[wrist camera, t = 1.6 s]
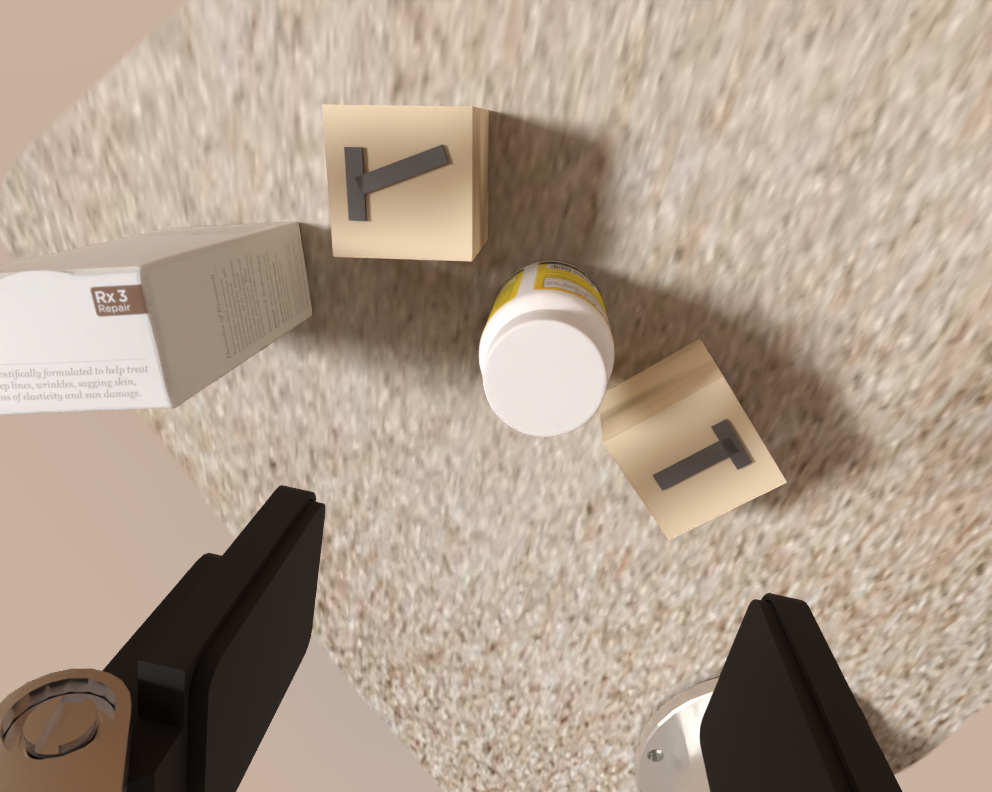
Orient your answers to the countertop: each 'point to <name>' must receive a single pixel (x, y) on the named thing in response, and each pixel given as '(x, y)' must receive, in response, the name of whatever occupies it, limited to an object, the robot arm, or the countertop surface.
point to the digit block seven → (407, 181)
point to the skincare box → (145, 316)
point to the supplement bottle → (547, 350)
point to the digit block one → (686, 441)
